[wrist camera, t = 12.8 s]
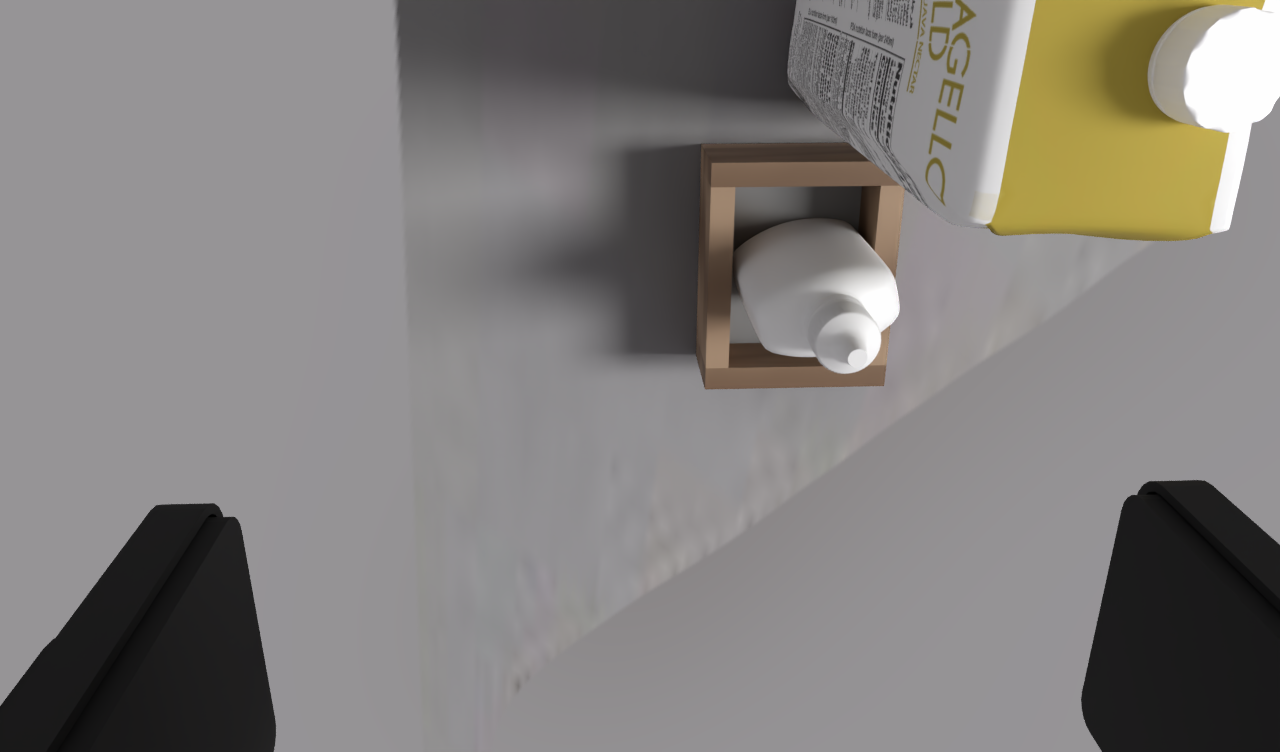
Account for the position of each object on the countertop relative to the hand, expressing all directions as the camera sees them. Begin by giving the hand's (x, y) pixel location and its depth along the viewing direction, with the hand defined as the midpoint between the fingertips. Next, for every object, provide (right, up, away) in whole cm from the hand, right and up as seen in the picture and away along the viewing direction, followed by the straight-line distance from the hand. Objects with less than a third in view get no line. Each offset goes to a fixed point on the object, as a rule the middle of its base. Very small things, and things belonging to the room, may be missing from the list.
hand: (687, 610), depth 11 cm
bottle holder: (+6, +8, +36) cm, 38 cm away
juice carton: (+9, +18, +32) cm, 38 cm away
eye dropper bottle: (+6, +8, +36) cm, 37 cm away
